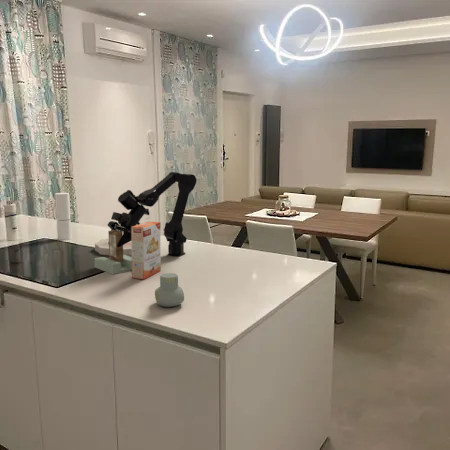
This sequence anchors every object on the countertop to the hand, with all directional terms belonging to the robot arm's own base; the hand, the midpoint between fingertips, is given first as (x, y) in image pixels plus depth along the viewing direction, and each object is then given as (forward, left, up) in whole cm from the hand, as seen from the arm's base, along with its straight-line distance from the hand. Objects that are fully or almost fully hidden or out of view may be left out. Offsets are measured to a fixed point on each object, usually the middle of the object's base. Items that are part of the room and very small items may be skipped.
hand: (113, 245), depth 190 cm
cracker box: (-18, +2, -10) cm, 20 cm away
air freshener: (-43, +28, -10) cm, 52 cm away
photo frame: (-1, -1, -7) cm, 7 cm away
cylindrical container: (+60, -38, -10) cm, 72 cm away
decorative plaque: (+15, -32, -11) cm, 37 cm away
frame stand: (-1, -1, -10) cm, 10 cm away
